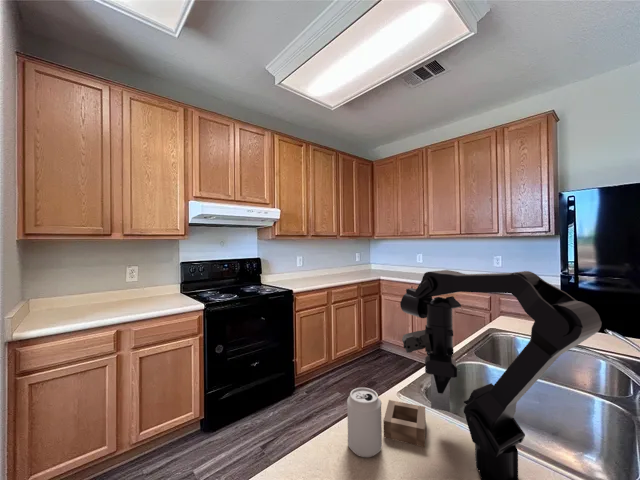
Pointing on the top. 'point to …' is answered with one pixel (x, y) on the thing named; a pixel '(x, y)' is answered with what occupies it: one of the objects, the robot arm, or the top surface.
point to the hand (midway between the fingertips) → (440, 388)
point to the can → (364, 422)
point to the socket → (405, 423)
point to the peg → (440, 397)
